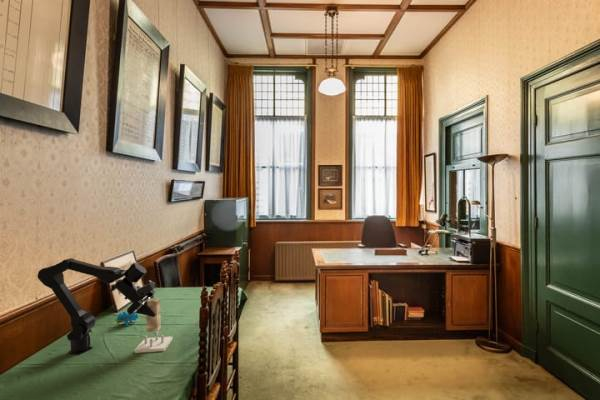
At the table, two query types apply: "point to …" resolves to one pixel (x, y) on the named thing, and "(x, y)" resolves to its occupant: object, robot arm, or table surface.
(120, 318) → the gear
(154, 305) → the maple block
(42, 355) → the table surface
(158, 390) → the table surface
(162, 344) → the pin plate
